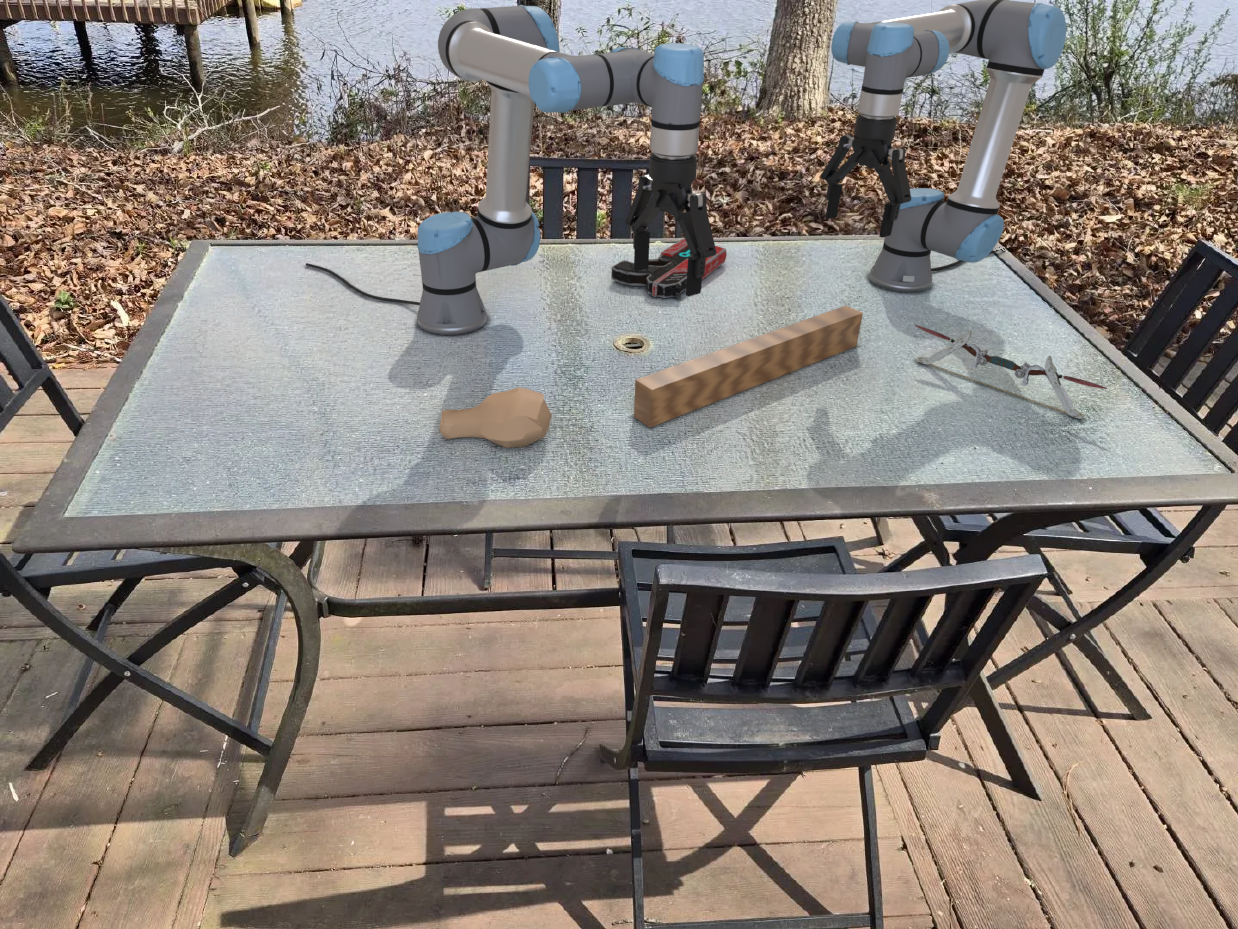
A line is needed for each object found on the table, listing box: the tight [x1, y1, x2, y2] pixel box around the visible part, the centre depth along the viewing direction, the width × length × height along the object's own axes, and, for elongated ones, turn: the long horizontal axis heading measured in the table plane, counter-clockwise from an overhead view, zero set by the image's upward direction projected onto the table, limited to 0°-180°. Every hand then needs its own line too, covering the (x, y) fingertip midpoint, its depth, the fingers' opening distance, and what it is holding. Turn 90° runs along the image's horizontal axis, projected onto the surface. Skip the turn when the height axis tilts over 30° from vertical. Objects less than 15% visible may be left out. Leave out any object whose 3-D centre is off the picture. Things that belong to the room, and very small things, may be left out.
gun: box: [610, 237, 728, 299], centre depth 222 cm, size 4×31×19 cm
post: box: [633, 305, 864, 428], centre depth 176 cm, size 59×5×8 cm, turn 128°
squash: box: [438, 387, 553, 449], centre depth 154 cm, size 11×20×9 cm, turn 90°
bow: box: [914, 324, 1108, 420], centre depth 174 cm, size 39×2×10 cm, turn 47°
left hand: (666, 281), depth 150 cm, fingers open, 13 cm apart
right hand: (857, 226), depth 176 cm, fingers open, 13 cm apart
